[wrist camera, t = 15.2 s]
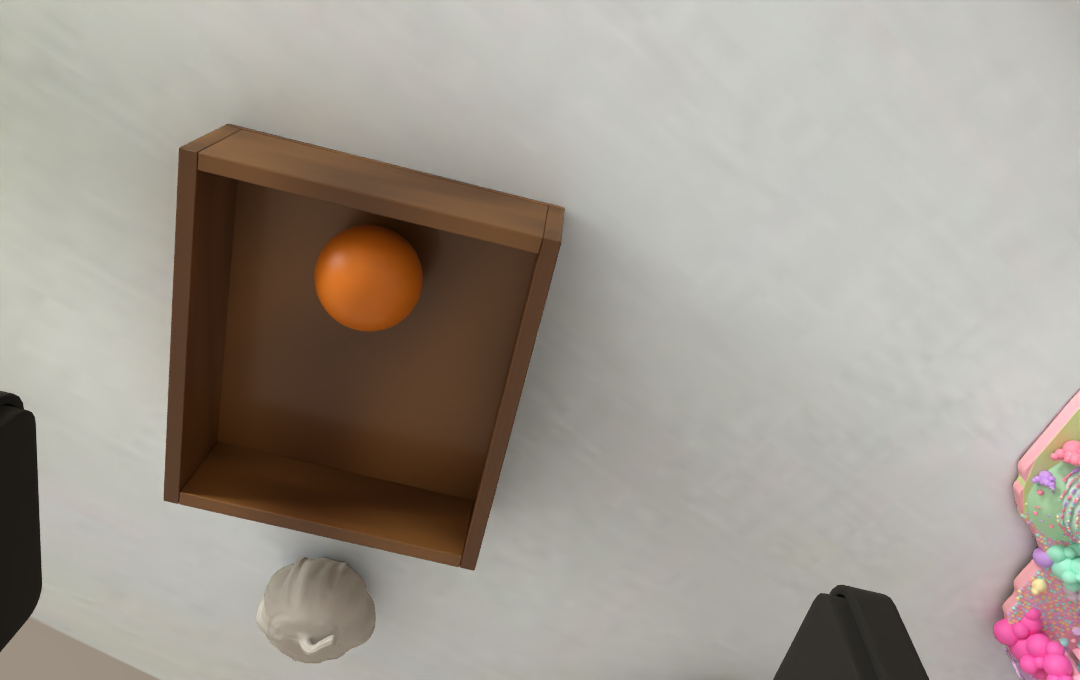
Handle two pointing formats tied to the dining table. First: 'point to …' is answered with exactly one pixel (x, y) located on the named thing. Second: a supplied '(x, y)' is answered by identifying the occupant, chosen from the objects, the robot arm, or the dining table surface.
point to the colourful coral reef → (1048, 557)
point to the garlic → (316, 610)
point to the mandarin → (368, 278)
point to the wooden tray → (347, 346)
